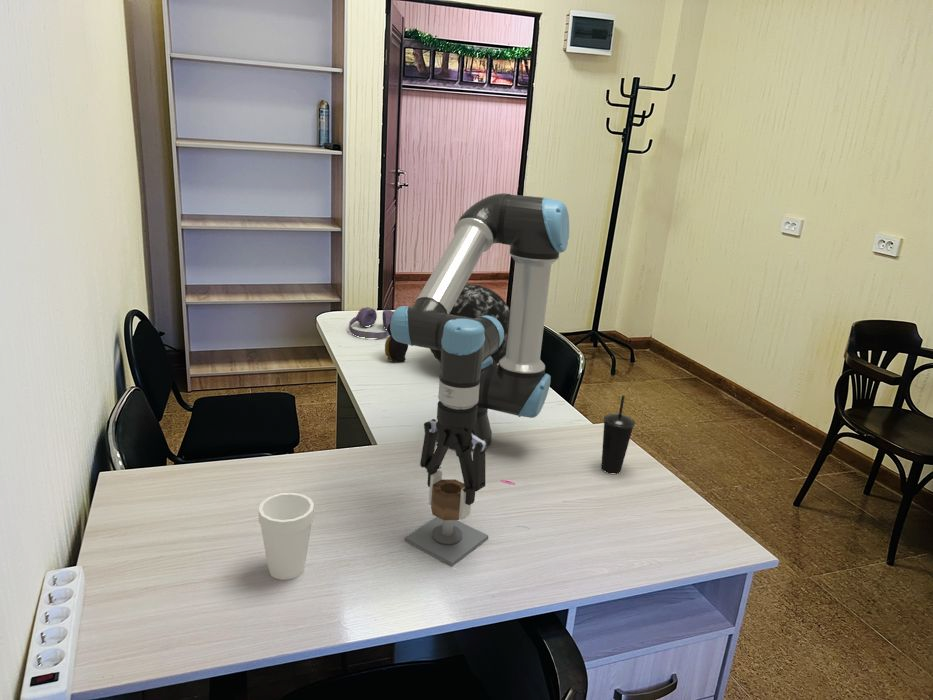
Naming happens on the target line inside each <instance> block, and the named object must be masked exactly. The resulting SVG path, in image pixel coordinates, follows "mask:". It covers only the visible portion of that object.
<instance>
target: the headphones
mask: <svg viewBox="0 0 933 700" xmlns="http://www.w3.org/2000/svg"><path fill="white" fill-rule="evenodd" d="M394 311H395V310H393V311H392V310H391V309H384V310H383V311H382V325H384V326H383V328H384V327H385V329H387V327H388V325H389V323H391V319H392V315H393V313H394ZM377 316H378V315H377V311H376V310H375V309H374V308H372V307H368V306H366V307H361V308H360V309H359V310H358V312H357V315H356V316H355V317H353V318H352V319H351V320H349V325H348V328H349V332H350V333H351V334H352V335H353V334H354V335H356V336H359V337H365V338H381V339H385V338H388V337H390V335H389V333H388V331H387V330H386V331H381V332H378V331H377V332H376V331H375V332H374V331H373V332H372V331H365V330H358V329H355V328H353V327H352V325H353V324H355V323H356V322H358V324H359V325H360V326H361V325H362V326H361V327H363V326H369V325H372V324H374V325H375V323H376V321H377ZM385 329H384V330H385ZM354 335H353V336H354ZM356 336H355V337H356Z"/></svg>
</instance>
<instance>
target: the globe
mask: <svg viewBox="0 0 933 700" xmlns="http://www.w3.org/2000/svg"><path fill="white" fill-rule="evenodd" d="M450 315H456V316H462V317H468V318H473V319H475V318H477V317H480V316H491V317H494V318H495V319H497V320H498V321H499V322H500V323H501V325H502V327H503V330H504V339H503V342H502V344H501V345H500V346H499V348H498V350H497V351H496V352H495V353H494V354H492V355H490V356H491V357H492V359H493V364H497V365H499V360H500V359H501V358H503V357H504V356H505V355H506V347H507V337H508V327H509V317H510V307H509V306H508V304H507V303H506V301H505V300H504V298H502V296H500V295H499V294H498V293H497V292H496V291H493V290H492V289H491V288H489V287H486V286H484V285H480V284H473V283H466V284H465V286H464V288H463V290H462V292H461V293H460V295H459V297H458V299H457V301H456V303H455V304H454V306H453V308H452V310H451V312H450ZM429 350H430V352H431V354H432V355H433V357H434V358H435V359H436V360H437V362H439V363H440V364H441V351H440V350H435V349H429Z"/></svg>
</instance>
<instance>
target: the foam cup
mask: <svg viewBox="0 0 933 700" xmlns="http://www.w3.org/2000/svg"><path fill="white" fill-rule="evenodd" d="M257 513H258V523H259V524H260V529H261V535H262V540H263V546H264V551H265V558H266V563H267V568H268V572H269V574H270V576H271V577H272V578H275V579H276V580H281V581H287V580H294V579H295V578H298V577H300V576H301V575H302V574H303V573H304V572H305V567H306V562H307V556H308V555H307V554H308V549H309V542H310V535H311V530H312V525H313V524H312V523H313V520H314V517H315V504H314V502H313V500H312V499H311V497H309V496H306V495H304V494H303V493H296V492H285V493H284V492H283V493H277V494H274V495H271V496H269V497H266V499H264V500H263V501H261V502H260V504H259V507H258V511H257Z"/></svg>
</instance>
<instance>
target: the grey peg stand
mask: <svg viewBox="0 0 933 700" xmlns="http://www.w3.org/2000/svg"><path fill="white" fill-rule="evenodd" d="M487 540H489V535H488V534H486V533H484V532H482V531H481V530H478V529H476V528H474V527H472V526H470V525H468V524H466V523H465V522H461V521H460V520H442V519H440V518H438V517H436V516H434V518H432V519H431V520H429V521H428V522H426V523H425V524H423V525H421V526H419V527H418V528H417V529H415V530H414V531H412V532H411V533H409V534H408V535H406V536H405V537H404V542H407V543H408V544H410V545H412V547H413V546H414V547H416V548H417V549H418V550H421V551H423V552H424V553H427V554H428V555H430V556H432V557H434V558H435V559H437V560H440V561H441V562H443V563H445V564H447V565H449V566H450V567H453V566H455V565H456V564H458V563H459V562H461V560H462V559H464V558H465V557H466V556H468V555H469V554H471V553H472V552H473V551H475V550H476V549H478V547H480V546H481V545H483V543H485V542H486V541H487Z"/></svg>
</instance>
